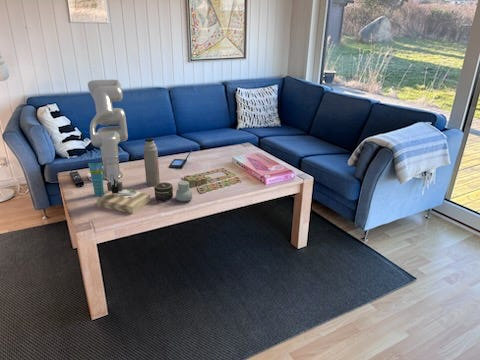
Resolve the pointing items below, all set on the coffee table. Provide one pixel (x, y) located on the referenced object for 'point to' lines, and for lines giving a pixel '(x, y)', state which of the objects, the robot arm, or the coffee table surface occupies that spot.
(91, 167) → the tube
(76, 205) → the coffee table surface
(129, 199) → the tan flat box
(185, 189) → the pale green rounded vessel
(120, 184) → the peg
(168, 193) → the jar
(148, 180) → the thermos bottle
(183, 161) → the handheld game console
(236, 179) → the pile of dominoes
